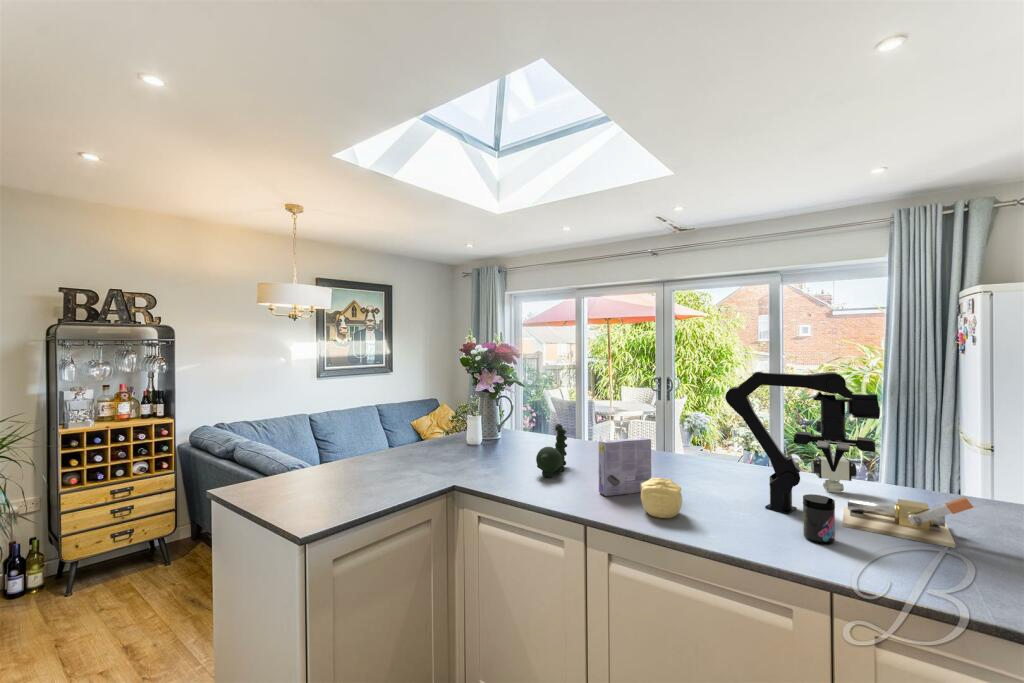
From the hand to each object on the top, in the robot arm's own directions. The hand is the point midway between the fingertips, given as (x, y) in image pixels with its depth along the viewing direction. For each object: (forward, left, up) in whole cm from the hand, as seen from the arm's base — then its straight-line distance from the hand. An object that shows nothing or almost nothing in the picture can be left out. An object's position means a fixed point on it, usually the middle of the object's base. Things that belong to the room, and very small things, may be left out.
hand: (833, 471), depth 130 cm
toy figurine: (-32, +83, -13) cm, 90 cm away
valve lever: (+3, -16, -10) cm, 19 cm away
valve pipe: (+6, -12, -12) cm, 18 cm away
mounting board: (+4, -12, -13) cm, 19 cm away
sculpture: (-36, +32, -13) cm, 50 cm away
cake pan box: (-28, +51, -13) cm, 60 cm away
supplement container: (-20, -3, -13) cm, 24 cm away
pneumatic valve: (+25, +8, -13) cm, 29 cm away
